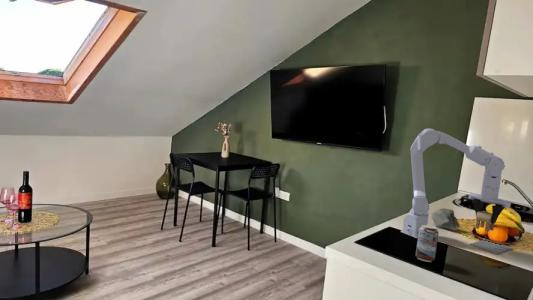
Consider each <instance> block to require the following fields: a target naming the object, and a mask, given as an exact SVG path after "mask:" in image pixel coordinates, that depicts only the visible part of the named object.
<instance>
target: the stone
mask: <svg viewBox="0 0 533 300" xmlns="http://www.w3.org/2000/svg"><path fill="white" fill-rule="evenodd" d="M454 211H455V210H453V209H449V208H439V209H436V210H435V211H434V212H432V213H431V219H432V220H433V224H434V227H436V228H440V229H445V230H449V231H455V232H456V231H457V230H458V229H459V228H460V223H459V221H458V219H457V216H455V212H454Z"/></svg>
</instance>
